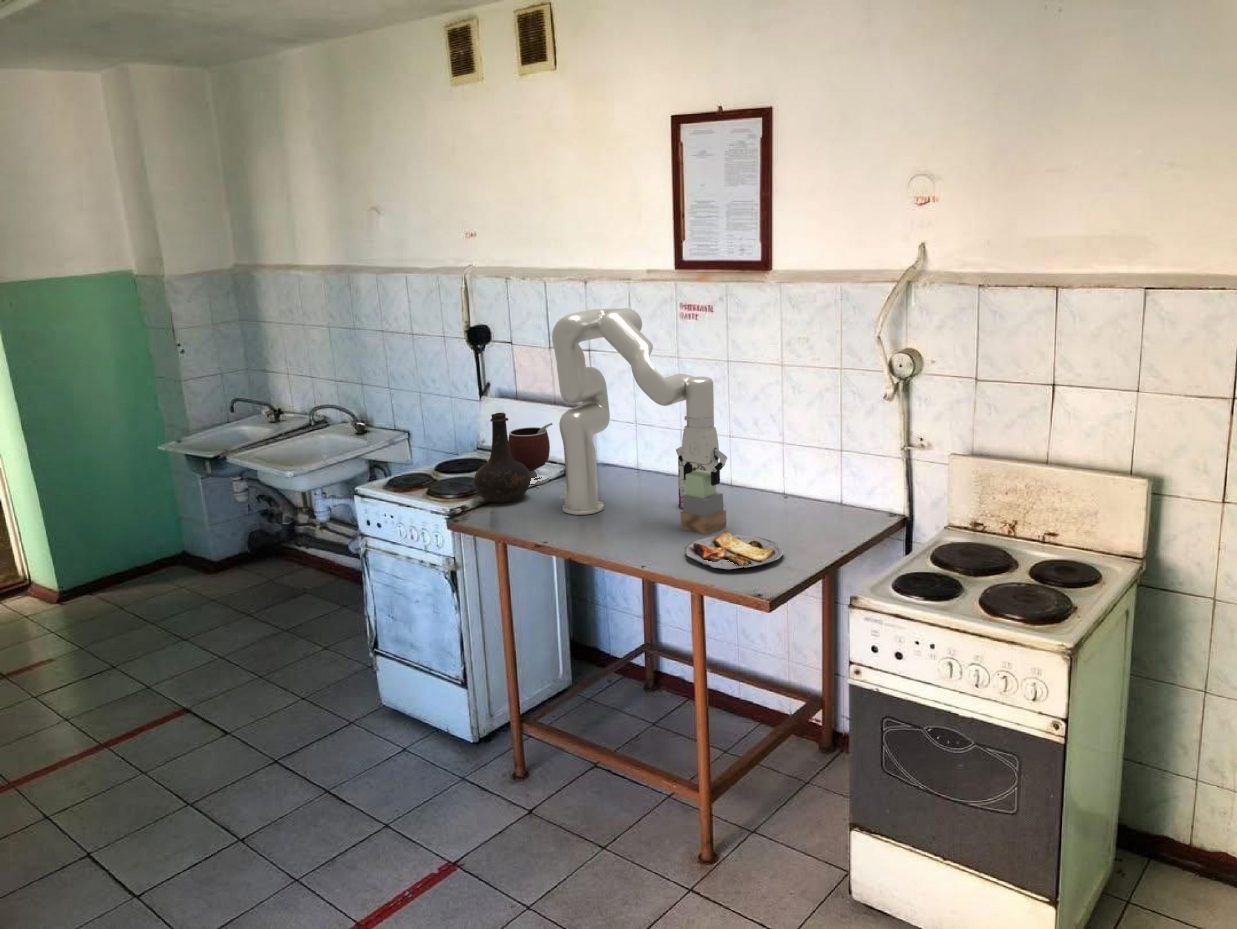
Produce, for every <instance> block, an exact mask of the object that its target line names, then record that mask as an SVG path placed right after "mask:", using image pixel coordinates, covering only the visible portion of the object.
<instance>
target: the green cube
mask: <svg viewBox="0 0 1237 929" xmlns="http://www.w3.org/2000/svg"><path fill="white" fill-rule="evenodd" d="M716 492H717V485H714V486H712V485H711V472H709V471H703V470H697V471H694V472H691V473H688V474H686V495H689V496H694V497H699V498H706V497H708V496H711V495H713V494H716Z"/></svg>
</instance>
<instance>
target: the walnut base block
mask: <svg viewBox="0 0 1237 929" xmlns="http://www.w3.org/2000/svg"><path fill="white" fill-rule="evenodd" d="M680 526H681V530H684V529H685V530H684V531H689V532H693V533H696V534H697V533H698V534H700V535H704V536H705V535H706V536H708V535H710V534H712V533H714V532H717V531H719V529H720V530H722V529H724V528H726V527H727V510H726V509H723V511H721V512H718V513H716V514H713V515H711V516H708V517H701V516H696V515H692V514H688V513H683V511H681V512H680Z"/></svg>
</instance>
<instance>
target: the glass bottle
mask: <svg viewBox="0 0 1237 929" xmlns="http://www.w3.org/2000/svg"><path fill="white" fill-rule="evenodd" d="M506 415H507V414H506V413H505V412H496V413H492V414H490V416H491V419H489V420H490V423H491V426H492V435H491V437H492V439H491V450H490V457H489V458H488V461H487V462H486V463H484V464H482V465H481V466H480V467H479V468H478V469H477V471H476V473H475V474H474V477H473V485H474V489H475V490H476V493H477V494H478V495H479V496H480V497H481V498H482V499H483V500H484V501H485V500H486V501H488V502H490V503H497V504H498V503H499V504H500V503H510V502H515V501H518V500H520V499H521V498H522V497H523V496H524V495H525V494H526V492H527V491H528V489H529V488H530V486H531V485H530V481H531V477H530V473H529V470H528V469H527V468H526V466H524V465H523V464H522V463H520V462H517V461H515V460H513V458H512V456H511V453H510V448H509V443H508V440H509V435H508V429H507V421H509V417H506Z"/></svg>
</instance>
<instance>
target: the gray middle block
mask: <svg viewBox="0 0 1237 929" xmlns="http://www.w3.org/2000/svg"><path fill="white" fill-rule="evenodd" d="M723 510H724V493H722V492H719V491H718V492H717V491H716V494H713V495H711V496H708V497H706V498H699V497H694V496H689V495H686V494H685V495H683V508H682V512H683V513H688V514H692V515H696V516H701V517H708V516H711V515H713V514H716V513H718V512H721V511H723Z"/></svg>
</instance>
